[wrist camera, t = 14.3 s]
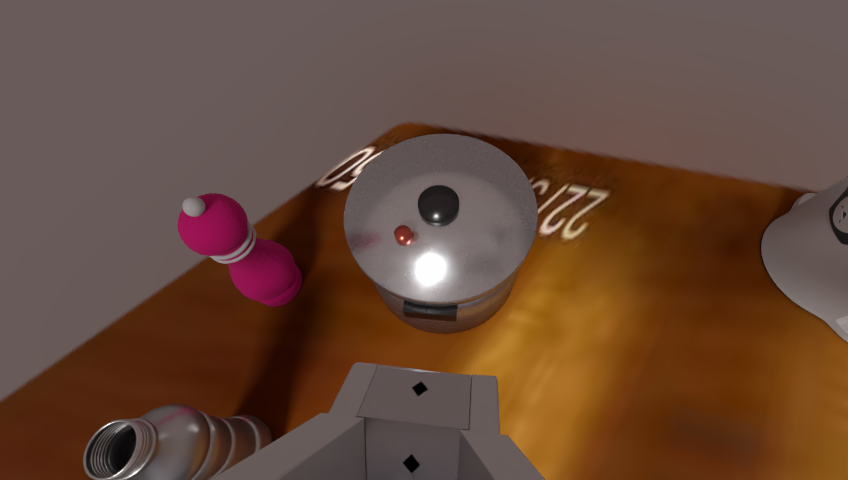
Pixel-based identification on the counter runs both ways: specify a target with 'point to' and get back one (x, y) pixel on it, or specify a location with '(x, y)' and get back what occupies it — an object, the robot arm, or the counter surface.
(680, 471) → the counter surface
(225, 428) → the silver metal bottle
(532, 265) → the counter surface
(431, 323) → the cooker pot
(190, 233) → the pepper mill
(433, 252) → the cooker lid
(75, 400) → the counter surface
